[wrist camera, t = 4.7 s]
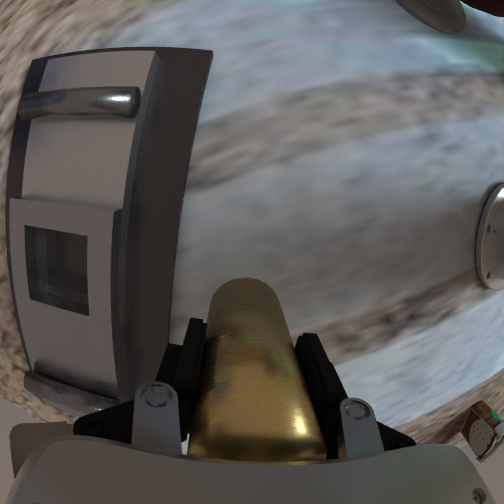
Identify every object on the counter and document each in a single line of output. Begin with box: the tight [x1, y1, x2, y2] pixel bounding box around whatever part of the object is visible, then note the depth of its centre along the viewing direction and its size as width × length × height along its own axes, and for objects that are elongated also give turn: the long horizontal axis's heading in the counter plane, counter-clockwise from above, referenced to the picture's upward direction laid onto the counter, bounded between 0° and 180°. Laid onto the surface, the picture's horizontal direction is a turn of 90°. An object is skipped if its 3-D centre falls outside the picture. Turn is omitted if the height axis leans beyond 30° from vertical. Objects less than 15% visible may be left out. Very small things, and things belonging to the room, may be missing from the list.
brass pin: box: [187, 278, 327, 462], centre depth 11 cm, size 4×4×10 cm
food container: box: [460, 401, 504, 463], centre depth 28 cm, size 12×6×10 cm, turn 18°
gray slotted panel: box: [6, 47, 213, 417], centre depth 16 cm, size 16×32×6 cm, turn 169°
